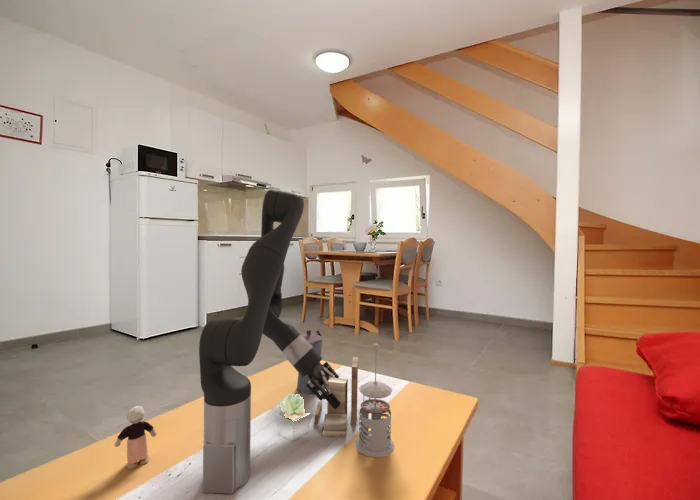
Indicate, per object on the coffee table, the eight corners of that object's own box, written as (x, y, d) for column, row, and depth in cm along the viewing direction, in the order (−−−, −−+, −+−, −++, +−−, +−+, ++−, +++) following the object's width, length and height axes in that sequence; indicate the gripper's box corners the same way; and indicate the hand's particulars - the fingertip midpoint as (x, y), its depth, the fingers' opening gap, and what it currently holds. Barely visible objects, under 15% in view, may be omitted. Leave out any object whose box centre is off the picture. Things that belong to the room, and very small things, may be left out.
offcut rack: (356, 425, 91) (357, 367, 91) (314, 424, 92) (315, 365, 91) (357, 410, 99) (357, 357, 99) (318, 409, 100) (319, 356, 99)
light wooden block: (344, 423, 92) (345, 383, 92) (327, 420, 94) (327, 381, 93) (347, 417, 95) (347, 379, 95) (330, 415, 96) (330, 377, 96)
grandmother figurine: (151, 452, 79) (151, 398, 78) (157, 459, 76) (157, 403, 76) (112, 468, 73) (112, 410, 72) (118, 476, 70) (118, 416, 70)
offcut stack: (346, 436, 86) (346, 422, 86) (322, 435, 86) (323, 421, 86) (347, 427, 90) (347, 414, 90) (324, 426, 91) (325, 413, 91)
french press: (361, 460, 77) (363, 351, 76) (348, 432, 88) (349, 337, 87) (401, 453, 79) (403, 348, 79) (383, 427, 91) (384, 335, 90)
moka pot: (286, 395, 109) (287, 333, 109) (306, 377, 124) (307, 323, 123) (314, 399, 106) (314, 336, 106) (330, 380, 121) (331, 325, 121)
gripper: (302, 355, 89) (344, 404, 86) (318, 339, 103) (355, 381, 101) (283, 373, 90) (324, 422, 88) (302, 355, 104) (338, 397, 102)
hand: (341, 400), depth 94 cm, fingers open, 6 cm apart
